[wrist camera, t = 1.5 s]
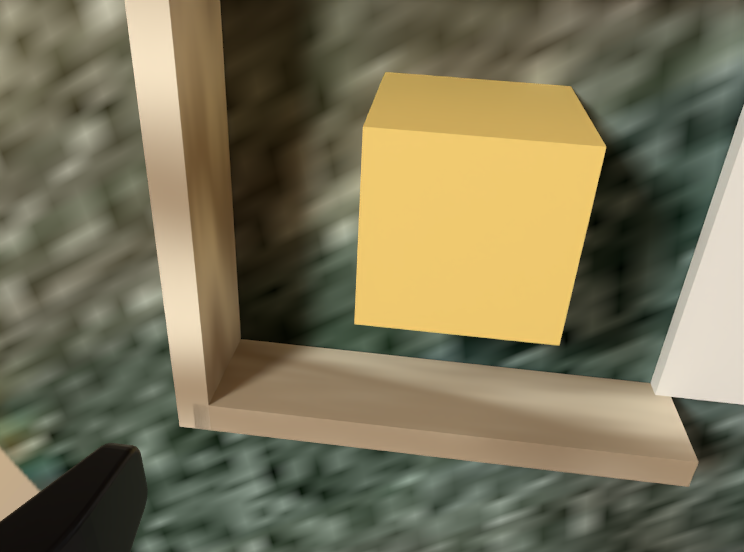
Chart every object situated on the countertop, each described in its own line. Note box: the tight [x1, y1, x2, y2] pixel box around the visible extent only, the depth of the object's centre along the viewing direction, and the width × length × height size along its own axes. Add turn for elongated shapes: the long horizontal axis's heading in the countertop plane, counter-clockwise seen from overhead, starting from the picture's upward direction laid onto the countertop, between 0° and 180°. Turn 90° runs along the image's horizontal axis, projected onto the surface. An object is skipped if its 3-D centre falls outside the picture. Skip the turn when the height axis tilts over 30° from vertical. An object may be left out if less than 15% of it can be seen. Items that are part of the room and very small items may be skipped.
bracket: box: [125, 0, 699, 487], centre depth 18 cm, size 16×16×4 cm
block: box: [355, 72, 606, 345], centre depth 17 cm, size 5×5×5 cm
